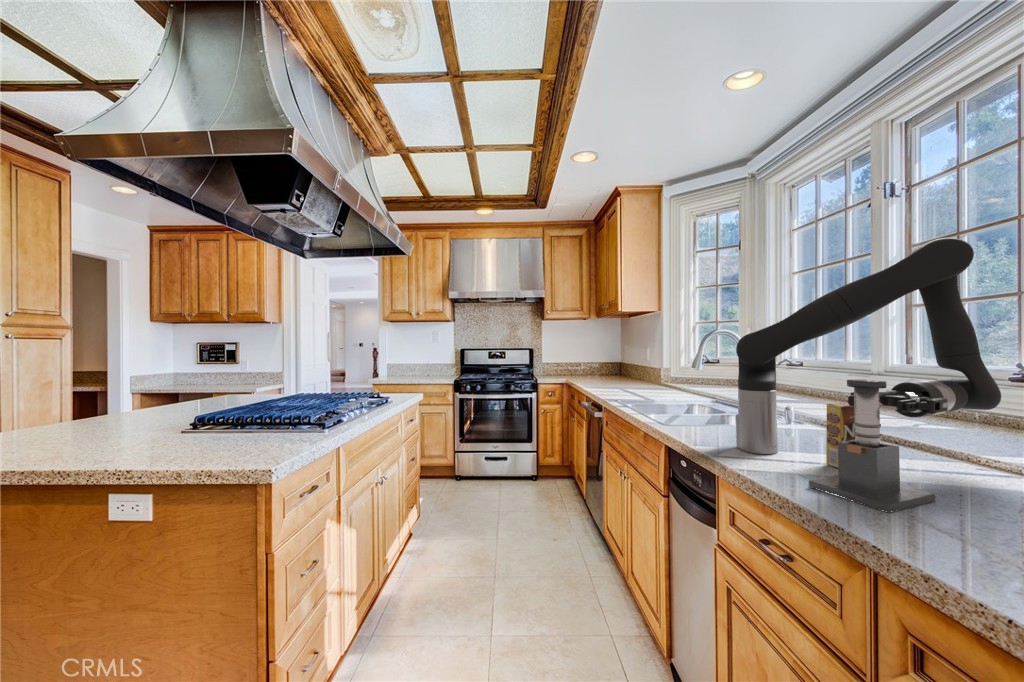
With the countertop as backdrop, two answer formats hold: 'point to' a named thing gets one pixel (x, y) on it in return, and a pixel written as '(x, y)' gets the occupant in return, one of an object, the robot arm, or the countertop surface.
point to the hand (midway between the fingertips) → (874, 403)
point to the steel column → (867, 411)
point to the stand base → (872, 478)
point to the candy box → (838, 429)
